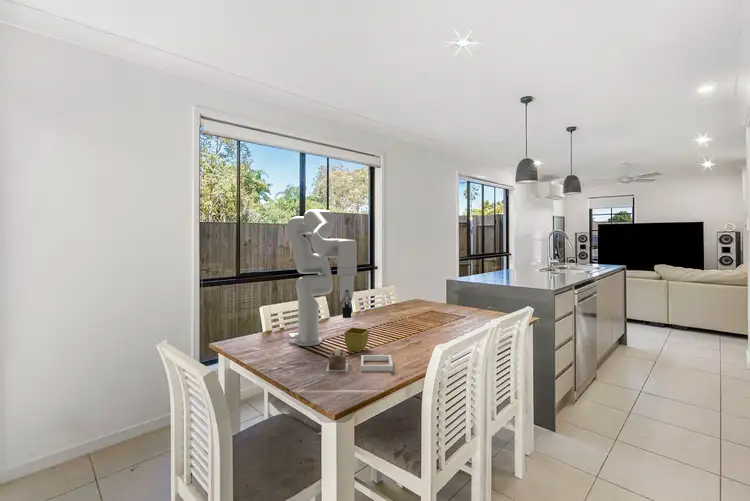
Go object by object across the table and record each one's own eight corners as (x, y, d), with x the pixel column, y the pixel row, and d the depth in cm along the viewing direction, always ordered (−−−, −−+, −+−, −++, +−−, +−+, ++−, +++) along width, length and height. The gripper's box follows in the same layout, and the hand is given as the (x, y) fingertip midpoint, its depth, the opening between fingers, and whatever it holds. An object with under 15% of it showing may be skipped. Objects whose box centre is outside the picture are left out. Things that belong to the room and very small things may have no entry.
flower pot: (369, 348, 163) (369, 329, 163) (362, 355, 155) (362, 334, 154) (351, 346, 166) (351, 327, 166) (343, 352, 158) (343, 332, 157)
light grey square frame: (360, 372, 136) (360, 365, 135) (361, 361, 148) (361, 355, 147) (392, 372, 136) (393, 365, 136) (390, 361, 148) (390, 355, 148)
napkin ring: (328, 369, 136) (328, 356, 136) (330, 364, 142) (330, 351, 142) (344, 369, 136) (344, 356, 136) (345, 364, 142) (345, 351, 142)
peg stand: (325, 372, 135) (325, 352, 135) (327, 364, 143) (328, 346, 143) (347, 372, 135) (347, 352, 135) (348, 364, 143) (348, 346, 143)
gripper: (338, 269, 150) (338, 310, 150) (336, 273, 132) (336, 320, 133) (356, 269, 150) (356, 310, 151) (357, 273, 133) (357, 320, 133)
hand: (347, 315), depth 142 cm, fingers open, 9 cm apart
